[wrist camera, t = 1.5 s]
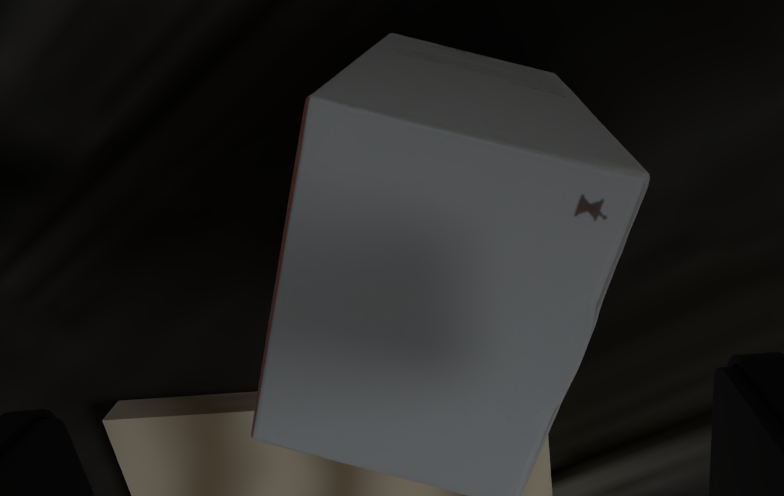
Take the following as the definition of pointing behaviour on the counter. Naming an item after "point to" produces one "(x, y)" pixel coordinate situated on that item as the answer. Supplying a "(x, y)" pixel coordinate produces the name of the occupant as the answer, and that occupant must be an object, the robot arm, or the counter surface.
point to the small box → (440, 266)
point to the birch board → (242, 455)
